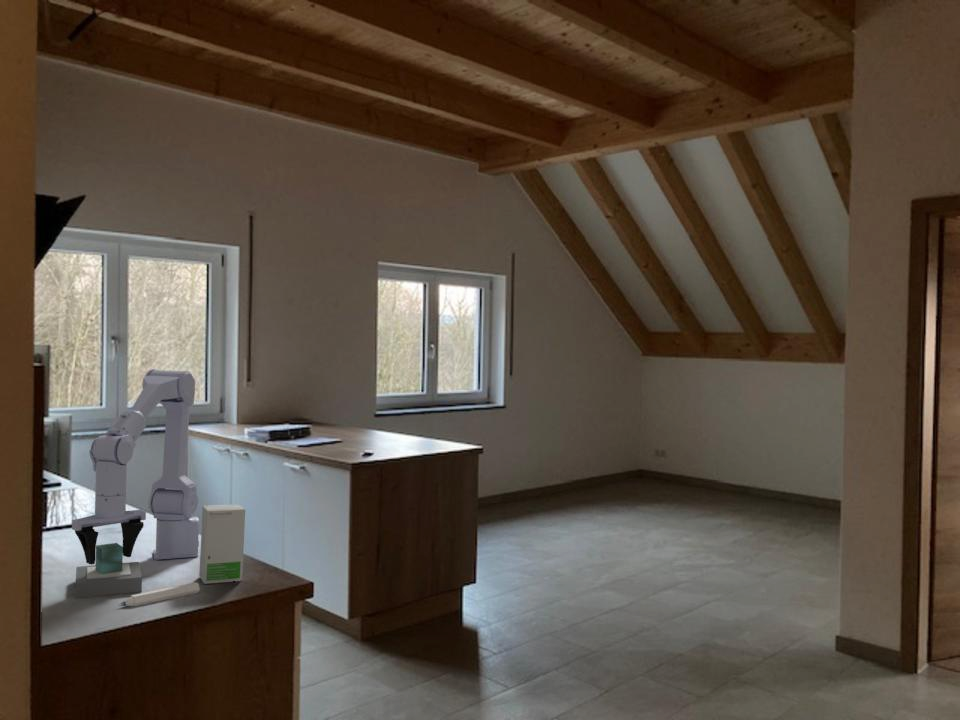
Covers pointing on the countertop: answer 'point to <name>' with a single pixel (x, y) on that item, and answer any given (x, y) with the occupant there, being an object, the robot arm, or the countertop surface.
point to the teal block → (109, 558)
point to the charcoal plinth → (107, 581)
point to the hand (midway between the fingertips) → (109, 559)
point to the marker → (161, 594)
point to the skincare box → (222, 543)
